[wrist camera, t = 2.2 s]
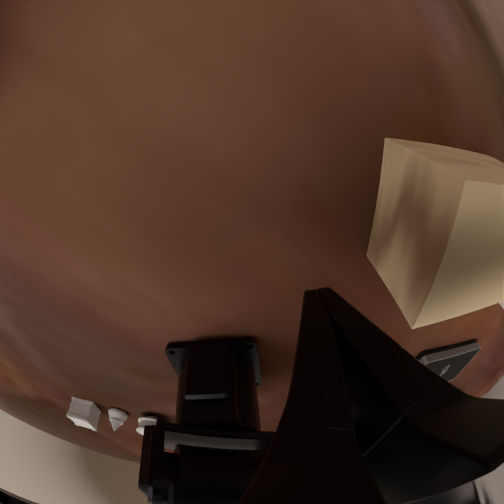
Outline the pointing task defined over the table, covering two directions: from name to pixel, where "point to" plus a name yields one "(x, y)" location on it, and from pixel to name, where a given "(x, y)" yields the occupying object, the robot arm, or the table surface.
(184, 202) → the table surface
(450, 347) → the external hard drive
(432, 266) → the block
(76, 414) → the toy set
